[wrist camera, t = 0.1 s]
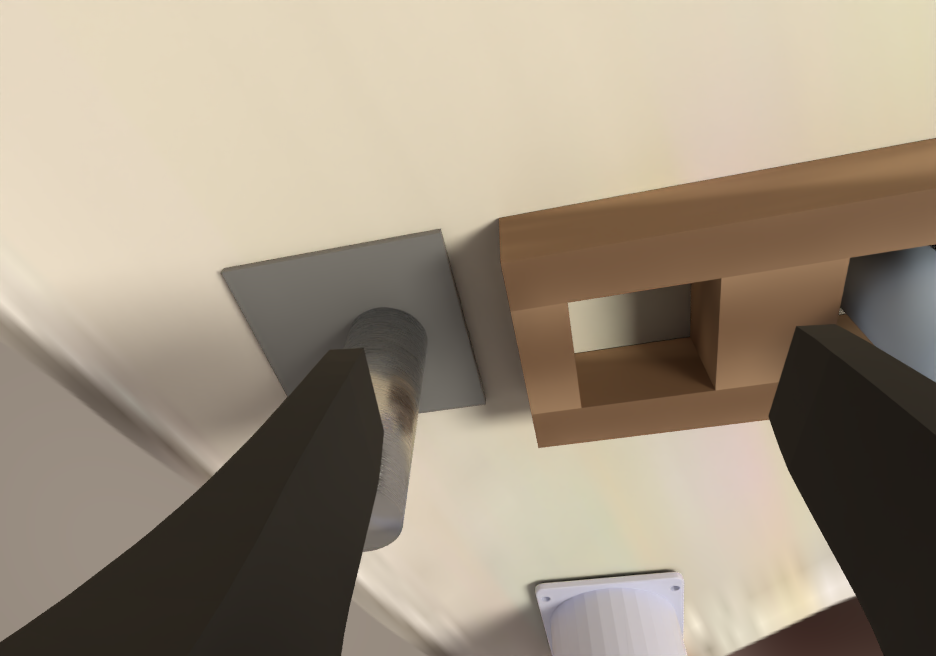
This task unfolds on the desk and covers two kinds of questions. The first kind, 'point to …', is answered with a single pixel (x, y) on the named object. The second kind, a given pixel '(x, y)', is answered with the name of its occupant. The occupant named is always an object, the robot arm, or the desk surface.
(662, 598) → the robot arm
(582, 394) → the walnut hole block
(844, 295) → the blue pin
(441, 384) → the rubber mat
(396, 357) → the steel pin
